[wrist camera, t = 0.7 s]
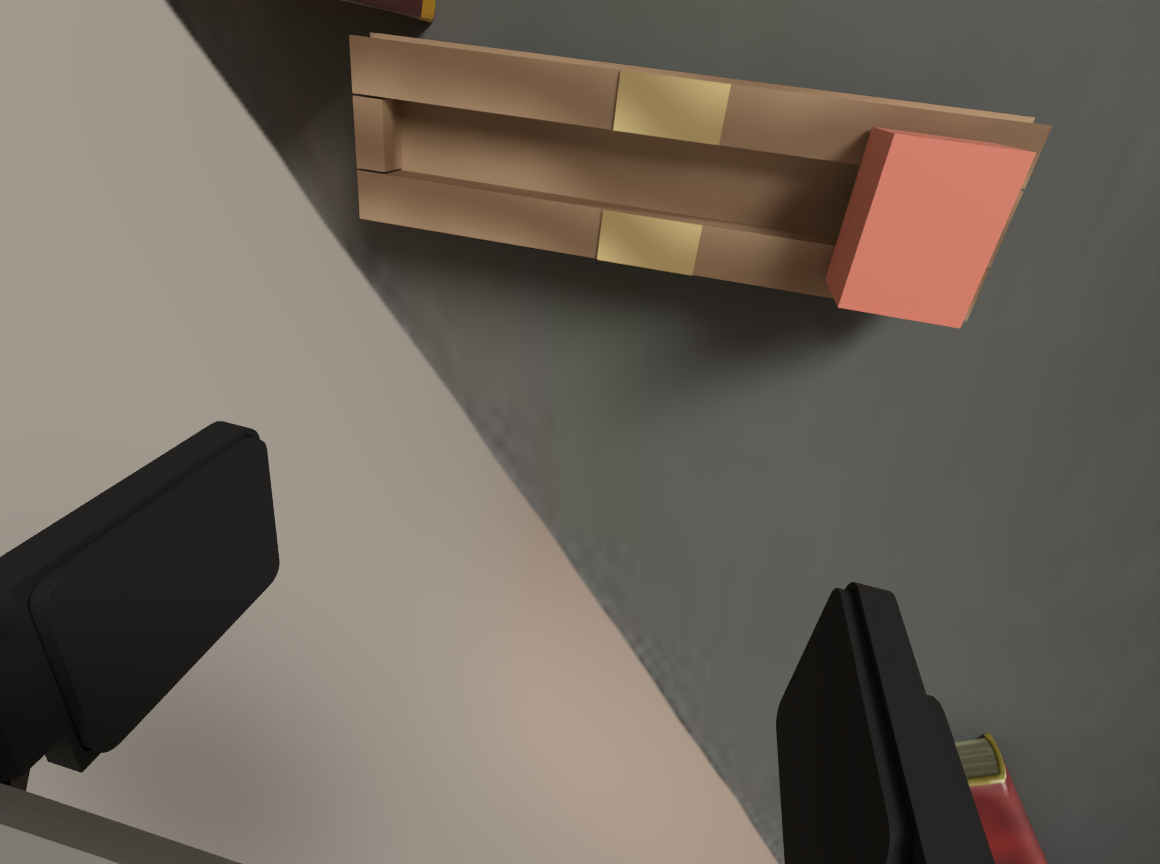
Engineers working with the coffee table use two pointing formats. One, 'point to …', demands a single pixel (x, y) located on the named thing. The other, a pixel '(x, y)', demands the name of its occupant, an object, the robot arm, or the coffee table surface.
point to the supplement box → (402, 7)
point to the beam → (627, 158)
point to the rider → (923, 224)
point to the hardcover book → (998, 803)
